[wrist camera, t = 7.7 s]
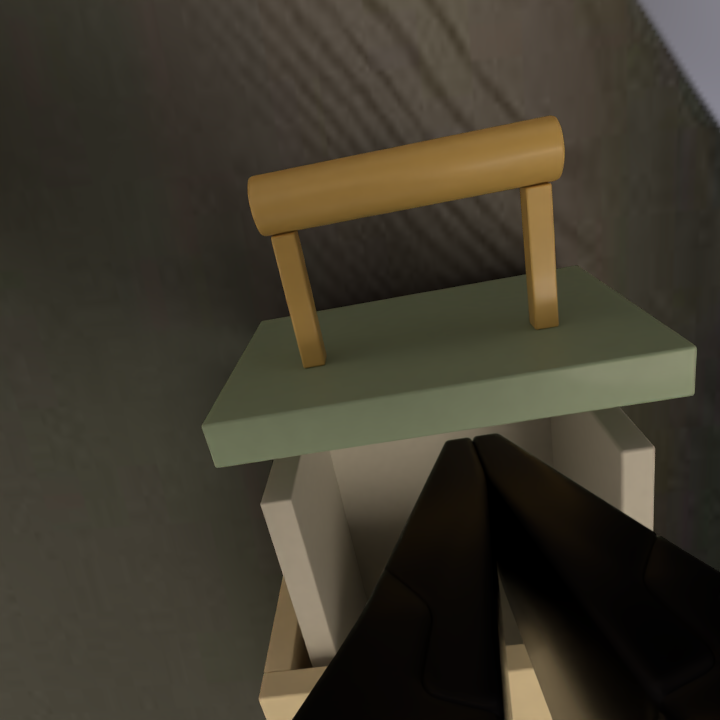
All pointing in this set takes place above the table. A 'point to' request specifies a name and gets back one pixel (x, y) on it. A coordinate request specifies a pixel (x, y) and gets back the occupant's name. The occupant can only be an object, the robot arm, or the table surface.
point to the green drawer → (430, 370)
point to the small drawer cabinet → (298, 677)
